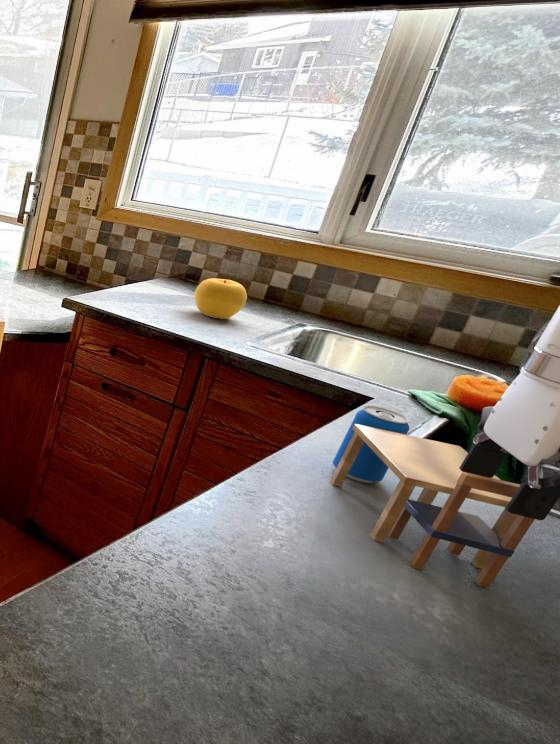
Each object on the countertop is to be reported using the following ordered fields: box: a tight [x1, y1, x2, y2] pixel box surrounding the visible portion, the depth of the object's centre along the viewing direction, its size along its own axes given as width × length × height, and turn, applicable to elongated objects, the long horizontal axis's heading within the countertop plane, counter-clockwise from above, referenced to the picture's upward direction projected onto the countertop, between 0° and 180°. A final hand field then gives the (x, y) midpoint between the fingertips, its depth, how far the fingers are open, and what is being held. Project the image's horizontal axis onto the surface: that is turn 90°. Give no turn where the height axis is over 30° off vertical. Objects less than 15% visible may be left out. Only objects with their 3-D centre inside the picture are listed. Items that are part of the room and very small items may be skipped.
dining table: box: [329, 424, 518, 570], centre depth 92 cm, size 13×17×11 cm
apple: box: [194, 277, 248, 320], centre depth 184 cm, size 13×13×11 cm
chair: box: [387, 472, 536, 589], centre depth 83 cm, size 8×8×15 cm
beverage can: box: [332, 405, 410, 484], centre depth 103 cm, size 6×6×12 cm
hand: (498, 493), depth 77 cm, fingers open, 9 cm apart
